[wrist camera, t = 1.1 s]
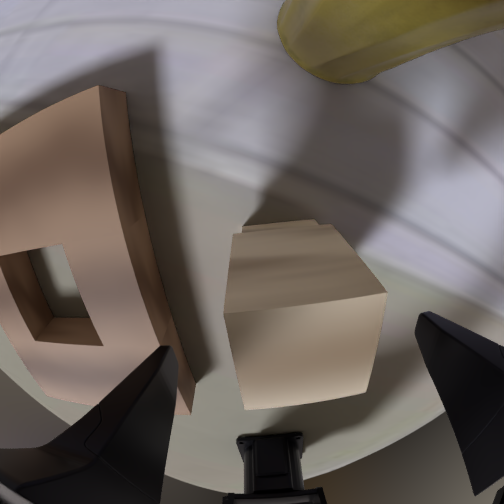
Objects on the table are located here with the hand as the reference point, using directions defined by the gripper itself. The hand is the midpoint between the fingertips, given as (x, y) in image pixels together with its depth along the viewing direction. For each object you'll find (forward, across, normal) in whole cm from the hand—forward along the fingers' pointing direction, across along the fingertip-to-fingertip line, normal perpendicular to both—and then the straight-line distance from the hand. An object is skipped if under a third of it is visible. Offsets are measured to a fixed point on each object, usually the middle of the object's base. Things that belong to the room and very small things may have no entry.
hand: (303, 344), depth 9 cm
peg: (+7, 0, 0) cm, 7 cm away
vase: (+7, -4, -12) cm, 15 cm away
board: (+7, +14, 0) cm, 16 cm away
